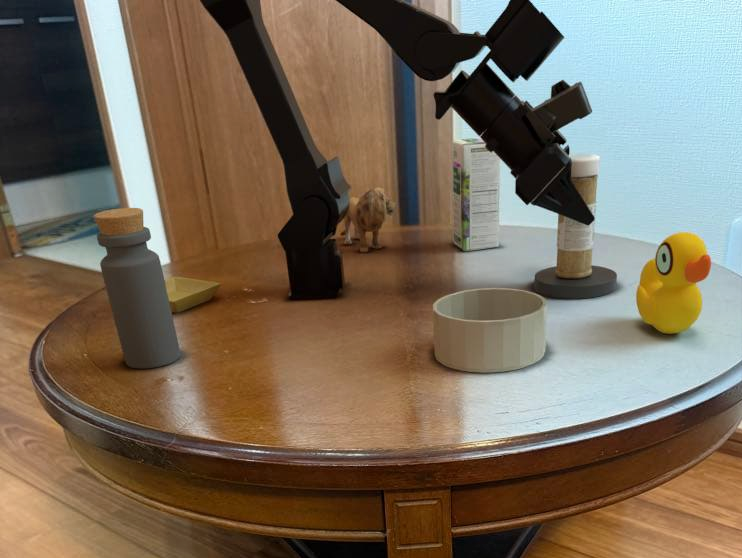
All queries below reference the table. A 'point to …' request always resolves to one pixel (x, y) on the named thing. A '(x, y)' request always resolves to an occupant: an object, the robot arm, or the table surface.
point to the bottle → (136, 290)
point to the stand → (575, 284)
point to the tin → (490, 329)
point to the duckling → (673, 283)
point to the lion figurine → (367, 216)
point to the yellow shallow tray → (189, 292)
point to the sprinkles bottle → (575, 235)
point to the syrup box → (475, 195)
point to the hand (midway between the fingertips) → (590, 215)
